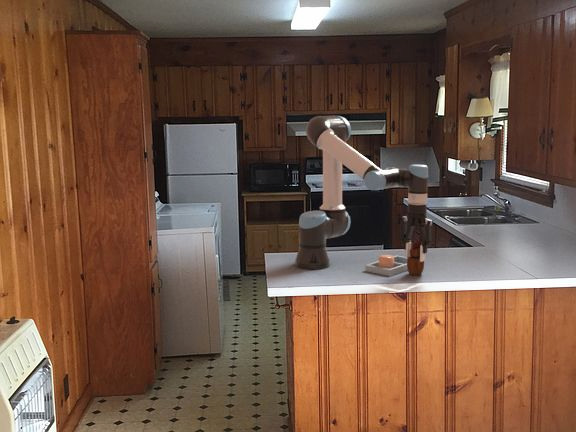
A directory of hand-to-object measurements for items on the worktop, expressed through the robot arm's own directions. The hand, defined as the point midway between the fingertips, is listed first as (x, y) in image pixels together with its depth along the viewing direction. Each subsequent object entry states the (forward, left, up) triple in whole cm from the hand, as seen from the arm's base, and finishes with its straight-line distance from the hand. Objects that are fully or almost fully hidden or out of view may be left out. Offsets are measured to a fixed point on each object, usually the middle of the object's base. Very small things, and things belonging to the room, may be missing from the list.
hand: (415, 259), depth 262 cm
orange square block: (-12, -3, -6) cm, 14 cm away
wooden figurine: (0, 0, -7) cm, 7 cm away
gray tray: (-12, +3, -7) cm, 15 cm away
